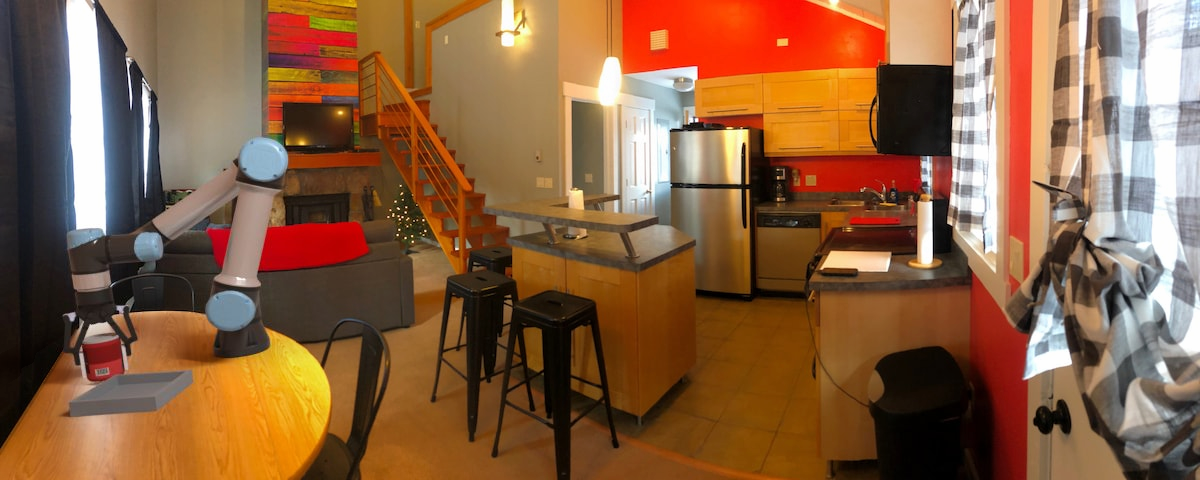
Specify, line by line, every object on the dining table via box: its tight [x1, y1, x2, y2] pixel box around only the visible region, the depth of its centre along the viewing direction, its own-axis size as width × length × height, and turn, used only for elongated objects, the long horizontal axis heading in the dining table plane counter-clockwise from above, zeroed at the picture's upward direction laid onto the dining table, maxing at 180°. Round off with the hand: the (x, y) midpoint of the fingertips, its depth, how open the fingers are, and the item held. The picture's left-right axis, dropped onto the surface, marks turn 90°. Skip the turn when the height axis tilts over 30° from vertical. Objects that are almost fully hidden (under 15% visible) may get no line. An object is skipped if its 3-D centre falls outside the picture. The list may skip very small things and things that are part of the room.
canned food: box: [81, 332, 126, 383], centre depth 165 cm, size 8×8×11 cm
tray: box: [68, 369, 194, 418], centre depth 153 cm, size 18×18×4 cm
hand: (105, 372), depth 166 cm, fingers closed on canned food, 8 cm apart
